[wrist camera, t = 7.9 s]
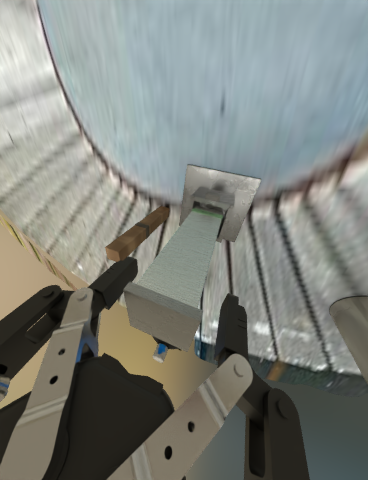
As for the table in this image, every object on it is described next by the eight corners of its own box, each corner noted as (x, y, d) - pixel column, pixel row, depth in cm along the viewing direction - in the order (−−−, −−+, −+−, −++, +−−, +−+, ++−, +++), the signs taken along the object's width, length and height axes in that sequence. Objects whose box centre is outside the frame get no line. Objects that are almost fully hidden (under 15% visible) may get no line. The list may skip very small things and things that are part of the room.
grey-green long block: (226, 210, 20) (200, 321, 7) (217, 237, 22) (187, 352, 10) (194, 202, 20) (122, 289, 8) (189, 229, 23) (130, 325, 11)
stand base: (260, 178, 22) (266, 189, 17) (234, 239, 29) (233, 261, 24) (188, 164, 25) (173, 169, 19) (180, 224, 32) (167, 240, 26)
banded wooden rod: (169, 208, 30) (118, 251, 18) (168, 216, 32) (120, 263, 19) (160, 205, 31) (104, 246, 18) (160, 214, 32) (107, 258, 19)
